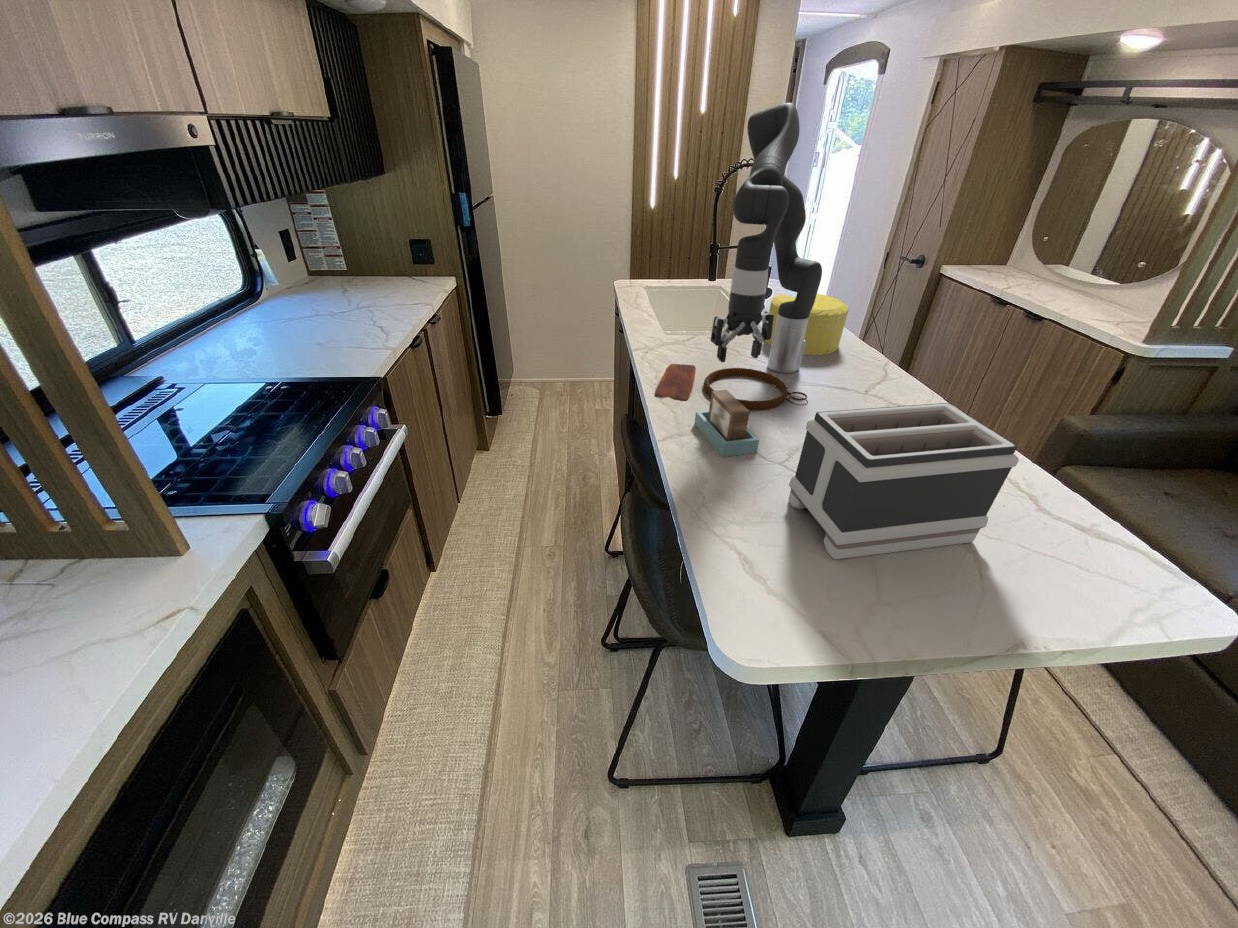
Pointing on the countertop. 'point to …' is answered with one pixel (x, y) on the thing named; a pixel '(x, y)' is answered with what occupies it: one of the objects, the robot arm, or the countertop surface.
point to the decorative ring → (757, 375)
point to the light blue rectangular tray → (719, 442)
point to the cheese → (817, 323)
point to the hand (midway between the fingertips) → (737, 359)
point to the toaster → (899, 477)
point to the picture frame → (728, 415)
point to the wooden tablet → (676, 382)
